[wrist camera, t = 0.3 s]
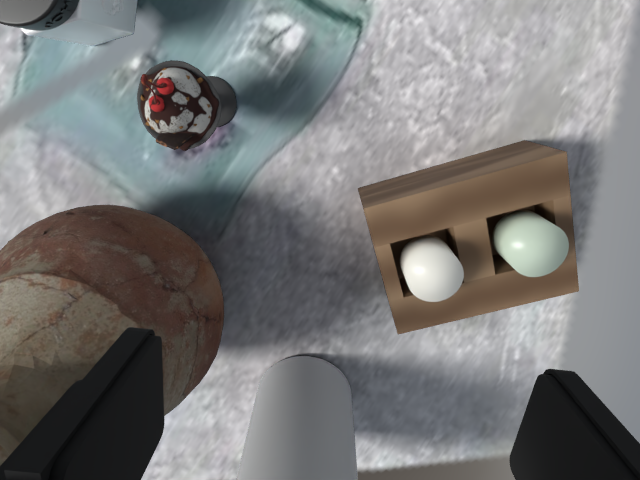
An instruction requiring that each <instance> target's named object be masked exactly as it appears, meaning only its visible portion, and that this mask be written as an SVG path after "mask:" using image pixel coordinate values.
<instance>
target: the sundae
mask: <svg viewBox="0 0 640 480" xmlns="http://www.w3.org/2000/svg"><path fill="white" fill-rule="evenodd" d="M137 101H138V109H139V113H140V117H141V119H142V122H143V124H144V126H145V127H146V129H147V131H148V132H149V133H150V134H151V135H152V136H153V137H154V138H156V142H157V143H159V144H161V145H163V146H166V147H170V148H171V149H174V150H176V149H178V148H179V149H182V150H184V151H186V150H188V149H190V148H195V147H197V146H199V145H201V144H203V143H204V142H206V141H207V140H208V139H209V138H210V136H211V135H212V134H213V133H214V131H215V130H216V127H220V126H223V125H225V124H227V123H228V122H229V121H230V120H231V119H232V117H233V116H234V114H235V111H236V97H235V94H234V92H233V90H232V88H231V87H230V86H229V85H228V84H227V83H226V82H225V81H224V80H222V79H220V78H218V77H214V76H207V77H206V76H205V75H204V74H203V73H202V72H201V71H200V70H199V69H197V68H195V67H194V66H192V65H190V64H188V63H186V62H182V61H166V62H162V63H160V64H158V65H156V66H154V67H152V68H151V69H149V71H148V72H147V73H146V74H143V75H142V77H141V81H140V84H139V88H138V94H137Z"/></svg>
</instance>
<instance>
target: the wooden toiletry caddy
mask: <svg viewBox="0 0 640 480" xmlns="http://www.w3.org/2000/svg"><path fill="white" fill-rule="evenodd" d="M358 191H359V194H360V198H361V202H362V205H363V209H364V213H365V216H366V220H367V224H368V227H369V231H370V235H371V238H372V242H373V246H374V249H375V253H376V257H377V260H378V264H379V268H380V271H381V275H382V279H383V282H384V286H385V290H386V293H387V297H388V300H389V304H390V308H391V311H392V315H393V318H394V322H395V326H396V329H397V333H398V334H402V333H406V332H410V331H414V330H418V329H423V328H427V327H431V326H435V325H439V324H443V323H448V322H452V321H456V320H460V319H464V318H469V317H473V316H477V315H481V314H485V313H490V312H494V311H498V310H502V309H506V308H510V307H515V306H519V305H523V304H527V303H531V302H536V301H540V300H544V299H548V298H552V297H557V296H561V295H565V294H569V293H573V292H578V291H579V286H578V275H577V263H576V252H575V241H574V229H573V218H572V207H571V195H570V184H569V173H568V161H567V152H565V151H562V150H558V149H554V148H551V147H547V146H543V145H540V144H536V143H532V142H529V141H525V140H524V141H521V142H517V143H514V144H510V145H507V146H503V147H500V148H496V149H493V150H489V151H486V152H482V153H479V154H475V155H472V156H468V157H465V158H462V159H458V160H455V161H451V162H448V163H444V164H441V165H437V166H434V167H430V168H427V169H423V170H420V171H416V172H413V173H409V174H406V175H402V176H399V177H395V178H392V179H388V180H385V181H381V182H378V183H374V184H371V185H367V186H364V187H360V188H358ZM517 210H529V211H532V212H534V213H536V214H538V215H540V216H541V217H543V218H544V219H546V220H548V221H549V222H551V223H553V224H554V225H556V226H558V227H559V228H561V229H562V230H563V231H564V232H565V234H566V236H567V238H568V242H569V250H568V254H567V256H566V258H565V260H564V261H563V263H562V264H561V265H560V266H559V267H558V268H557V269H556V270H554V271H553V272H551V273H549V274H547V275H544V276H540V277H528V276H524V275H522V274H520V273H518V272H517V271H516V270H515V269H514V268H513V267H512V266H511V265H510V264H509V263H508V262H507V261H506V260H505V259H504V258H503V257H501V256H500V255H499V254H498V253H497V251H496V250H495V249H494V246H493V243H492V233H493V230H494V228H495V226H496V224H497V223H498V222H499V220H500V219H501V218H503V217H504V216H505V215H507V214H509V213H511V212H513V211H517ZM425 235H431V236H435V237H438V238H440V239H442V240H443V241H444V242H445V243H446V244H447V245H448V247H449V248H450V249H451V251H452V252H453V253H454V255H455V256H456V257H457V259H458V260H459V261H460V263H461V265H462V267H463V271H464V278H463V282H462V284H461V286H460V288H459V289H458V291H457V292H456V293H455V294H454V295H452V296H451V297H449V298H447V299H445V300H442V301H438V302H428V301H424V300H421V299H419V298H417V297H416V296H415V295H414V294H413V293H412V292H411V291H410V289H409V287H408V284H407V282H406V279H405V277H404V274H403V272H402V269H401V266H400V255H401V252H402V250H403V248H404V247H405V245H406V244H407V243H408V242H410V241H411V240H413V239H414V238H417V237H419V236H425Z"/></svg>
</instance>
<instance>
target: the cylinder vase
mask: <svg viewBox="0 0 640 480" xmlns="http://www.w3.org/2000/svg"><path fill="white" fill-rule="evenodd" d="M236 480H358V476H357V462H356V449H355V435H354V421H353V407H352V393H351V388H350V385H349V382H348V380H347V379H346V377H345V376H344V374H343V373H342V372H341V371H340V370H339V369H338V368H337V367H336V366H334V365H333V364H331V363H329V362H327V361H325V360H323V359H320V358H316V357H310V356H296V357H291V358H287V359H284V360H282V361H280V362H278V363H276V364H274V365H273V366H272V367H270V368H269V369H268V370H267V371H266V372H265V374H264V375H263V377H262V378H261V380H260V383H259V386H258V390H257V394H256V398H255V402H254V406H253V411H252V415H251V419H250V423H249V427H248V432H247V436H246V440H245V444H244V448H243V453H242V457H241V461H240V465H239V469H238V474H237V478H236Z"/></svg>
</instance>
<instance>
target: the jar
mask: <svg viewBox="0 0 640 480" xmlns="http://www.w3.org/2000/svg"><path fill="white" fill-rule="evenodd" d="M137 1H138V0H0V23H1V24H4V25H8V26H13V27H18V28H20V29H21V30H22V31H23V32H24V33H25V34H26V35H29V36H35V37H41V38H47V39H53V40H58V41H64V42H70V43H76V44H82V45H87V46H95V45H98V44H102V43H105V42H109V41H112V40H115V39H119V38H122V37H126V36H129V35H132V34H134V28H135V19H136V10H137Z"/></svg>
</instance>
